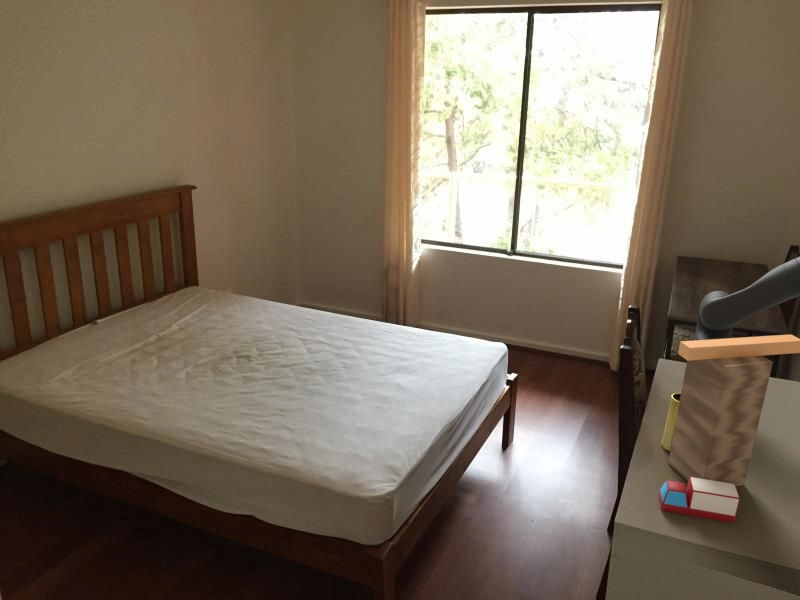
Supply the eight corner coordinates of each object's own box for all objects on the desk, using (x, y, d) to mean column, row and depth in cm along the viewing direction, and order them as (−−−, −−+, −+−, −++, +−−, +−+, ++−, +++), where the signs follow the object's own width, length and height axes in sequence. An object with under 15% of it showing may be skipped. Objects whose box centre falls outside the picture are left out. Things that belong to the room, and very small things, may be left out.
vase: (685, 442, 172) (694, 394, 167) (686, 455, 167) (696, 405, 162) (660, 438, 174) (669, 390, 169) (661, 450, 169) (669, 401, 164)
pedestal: (709, 456, 166) (734, 340, 155) (744, 485, 155) (772, 361, 144) (668, 463, 163) (690, 344, 152) (700, 492, 152) (726, 367, 141)
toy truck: (658, 496, 151) (663, 471, 149) (729, 508, 147) (735, 483, 145) (660, 511, 146) (665, 486, 144) (734, 524, 142) (740, 498, 140)
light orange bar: (788, 346, 152) (791, 334, 151) (799, 352, 149) (802, 340, 148) (678, 353, 147) (680, 341, 146) (687, 360, 144) (689, 348, 143)
